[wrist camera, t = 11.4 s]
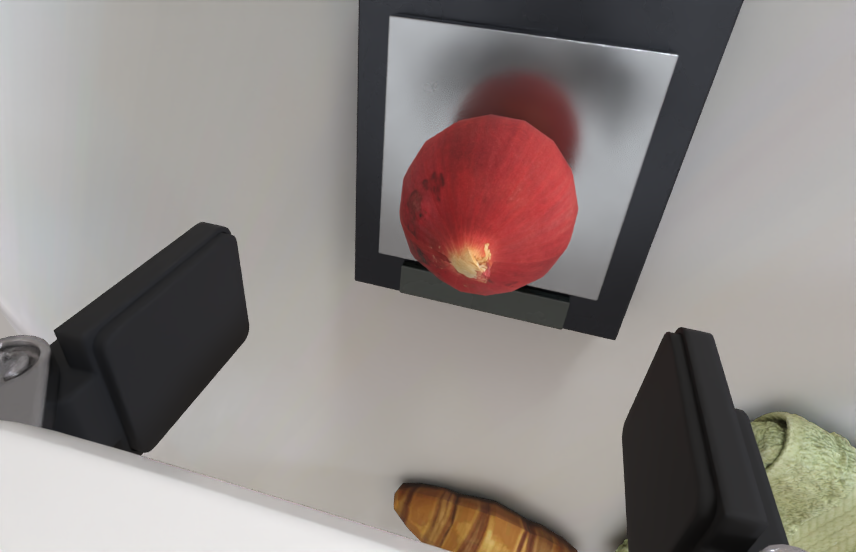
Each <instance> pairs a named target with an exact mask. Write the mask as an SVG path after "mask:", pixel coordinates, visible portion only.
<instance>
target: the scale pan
mask: <svg viewBox="0 0 856 552" xmlns="http://www.w3.org/2000/svg"><path fill="white" fill-rule="evenodd" d="M678 58H679V55H678V54H677V53H676V52H675V51H669V50H662V49H655V48H648V47H640V46H633V45H626V44H618V43H611V42H604V41H596V40H589V39H582V38H575V37H567V36H560V35H553V34H545V33H538V32H531V31H523V30H516V29H509V28H502V27H494V26H487V25H480V24H472V23H465V22H458V21H450V20H443V19H436V18H429V17H421V16H414V15H407V14H399V13H395V14H392V15H390V16H389V29H388V52H387V75H386V98H385V120H384V143H383V166H382V189H381V212H380V235H379V253H382V254H386V255H391V256H396V257H400V258H405V259H409V260H414V261H417V260H416V259H415V258H414V257H413V255H412V254H411V252H410V249H409V246H408V243H407V240H406V237H405V234H404V231H403V228H402V225H401V222H400V214H399V210H400V202H401V194H402V185H403V178H404V176H405V174H406V172H407V170H408V168H409V166H410V165H411V163H412V162H413V160H414V159H415V157H416V155H417V154H418V152H419V151H420V149H421V148H422V146H423V144H424V143H425V142H426V141H427V140H429V139H430V138H432V137H433V136H435V135H436V134H438V133H440V132H441V131H443V130H444V129H446V128H447V127H449V126H451V125H452V124H454V123H456V122H458V121H460V120H463V119H469V118H474V117H479V116H484V115H490V114H493V115H498V116H504V117H509V118H514V119H519V120H524V121H526V122H528V123H529V124H531V125H532V126H533V127H535V128H536V129H538V130H539V131H540V132H542V133H543V134H545V135H546V136H547V137H549V138H550V139H552V140H553V141H554V142H555V144H556V146H557V147H558V149H559V150H560V152H561V153H562V155H563V157H564V158H565V160H566V161H567V163H568V165H569V166H570V168H571V170H572V173H573V177H574V184H575V190H576V196H577V203H578V213H577V217H576V221H575V225H574V229H573V233H572V237H571V240H570V242H569V244H568V247H567V249H566V250H565V251H564V252H563V254H562V255H561V256H560V258H559V259H558V260H557V261H556V263H555V264H554V265H553V266H552V268H551V269H550V270H549V272H548V273H546V274H545V275H544V276H543V277H542V278H540V279H538V280H536V281H533V282H531V283H529V284H527V285H528V286H532V287H537V288H541V289H546V290H550V291H555V292H560V293H564V294H569V295H573V296H578V297H582V298H587V299H592V300H598V297H599V294H600V291H601V288H602V285H603V282H604V279H605V276H606V273H607V270H608V267H609V264H610V261H611V258H612V255H613V252H614V249H615V246H616V243H617V240H618V237H619V234H620V231H621V228H622V225H623V222H624V219H625V216H626V213H627V210H628V207H629V204H630V201H631V198H632V195H633V192H634V189H635V186H636V183H637V180H638V177H639V174H640V171H641V168H642V165H643V162H644V159H645V156H646V153H647V150H648V147H649V144H650V141H651V138H652V135H653V132H654V129H655V126H656V123H657V120H658V117H659V114H660V111H661V108H662V105H663V102H664V99H665V96H666V93H667V90H668V87H669V84H670V82H671V79H672V76H673V73H674V70H675V67H676V64H677V61H678ZM418 262H419V261H418Z"/></svg>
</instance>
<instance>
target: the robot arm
mask: <svg viewBox="0 0 856 552" xmlns="http://www.w3.org/2000/svg"><path fill="white" fill-rule="evenodd" d="M54 332H55V335H56V337H57V340H56V341H55V342H53V343H52V344H51V345H49V344H48V343H47V342H46V341H45V340H44V339H41V338H39V337H36V336H28V335H19V336H10V337H6V338H2V339H0V552H451V551H448V550H445V549H442V548H438V547H435V546H432V545H429V544H426V543H423V542H419V541H416V540H413V539H410V538H407V537H404V536H400V535H397V534H394V533H391V532H388V531H385V530H381V529H378V528H375V527H372V526H368V525H365V524H362V523H359V522H356V521H352V520H349V519H346V518H343V517H339V516H336V515H333V514H330V513H327V512H323V511H320V510H317V509H314V508H310V507H307V506H304V505H301V504H297V503H294V502H291V501H288V500H284V499H281V498H278V497H275V496H271V495H268V494H265V493H262V492H259V491H255V490H252V489H249V488H246V487H242V486H239V485H236V484H233V483H229V482H226V481H223V480H219V479H216V478H213V477H209V476H206V475H203V474H200V473H196V472H193V471H190V470H186V469H183V468H180V467H176V466H173V465H170V464H167V463H163V462H160V461H157V460H153V459H150V458H147V457H143V456H141V455H142V454H143V452H144V453H146V452H149V451H151V450H152V449H153V448H154V447H155V446H156V445H157V444H158V443H159V441H160V440H161V439H162V438H163V437H164V435H165V434H166V433H167V432H168V431H169V430H170V428H171V427H172V426H173V425H174V424H175V423H176V421H177V420H178V419H179V418H180V417H181V415H182V414H183V413H184V412H185V411H186V410H187V408H188V407H189V406H190V405H191V404H192V402H193V401H194V400H195V399H196V398H197V397H198V395H199V394H200V393H201V392H202V391H203V390H204V388H205V387H206V386H207V385H208V384H209V382H210V381H211V380H212V379H213V378H214V377H215V375H216V374H217V373H218V372H219V371H220V369H221V368H222V367H223V366H224V365H225V364H226V362H227V361H228V360H229V359H230V358H231V357H232V355H233V354H234V353H235V352H236V351H237V349H238V348H239V347H240V346H241V345H242V344H243V342H244V341H245V340H246V338H247V335H248V332H249V321H248V314H247V308H246V301H245V294H244V287H243V280H242V274H241V267H240V260H239V253H238V246H237V241H236V238H235V236H233V235H231V232H230V231H229V229H228V228H226V227H223V226H219V225H214V224H210V223H205V222H200V223H198V224H197V225H195V226H194V227H192V228H191V229H190V230H188V231H187V232H186V233H184V234H183V235H182V236H180V237H179V238H178V239H176V240H175V241H174V242H172V243H171V244H170V245H168V246H167V247H166V248H164V249H163V250H161V251H160V252H159V253H157V254H156V255H155V256H153V257H152V258H151V259H149V260H148V261H147V262H145V263H144V264H143V265H141V266H140V267H139V268H137V269H136V270H135V271H133V272H132V273H130V274H129V275H128V276H126V277H125V278H124V279H122V280H121V281H120V282H118V283H117V284H116V285H114V286H113V287H112V288H110V289H109V290H108V291H106V292H105V293H104V294H102V295H101V296H99V297H98V298H97V299H95V300H94V301H93V302H91V303H90V304H89V305H87V306H86V307H85V308H83V309H82V310H81V311H79V312H78V313H77V314H75V315H74V316H73V317H71V318H70V319H68V320H67V321H66V322H64V323H63V324H62V325H60V326H59V327H58V328H56V329H55V330H54ZM622 446H623V464H624V482H625V499H626V517H627V535H628V552H808V551H806V550H803V549H801V548H799V547H795V546H790V545H789V542H788V539H787V536H786V533H785V530H784V527H783V524H782V520H781V517H780V514H779V511H778V508H777V505H776V502H775V498H774V495H773V492H772V489H771V486H770V483H769V480H768V476H767V473H766V470H765V467H764V464H763V461H762V458H761V454H760V451H759V448H758V445H757V442H756V439H755V436H754V432H753V429H752V426H751V423H750V420H749V418H748V416H747V414H746V413H745V412H744V411H742V410H739V409H735V408H734V405H733V402H732V398H731V395H730V391H729V388H728V385H727V381H726V378H725V374H724V371H723V368H722V364H721V361H720V357H719V354H718V351H717V347H716V344H715V340H714V338H713V336H712V334H710V333H706V332H701V331H697V330H692V329H687V328H683V327H680V328H678V329H677V330H676V332H675V333H671V332H666V334H665V335H664V337H663V339H662V341H661V343H660V345H659V348H658V350H657V352H656V354H655V356H654V359H653V361H652V363H651V365H650V367H649V370H648V372H647V374H646V376H645V378H644V381H643V383H642V385H641V387H640V389H639V392H638V394H637V396H636V398H635V400H634V403H633V405H632V407H631V409H630V411H629V414H628V416H627V418H626V420H625V423H624V427H623V433H622Z"/></svg>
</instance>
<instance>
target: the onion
mask: <svg viewBox="0 0 856 552" xmlns="http://www.w3.org/2000/svg"><path fill="white" fill-rule="evenodd" d="M577 213H578V203H577V196H576V190H575V184H574V177H573V173H572V170H571V168H570V166H569V165H568V163H567V161H566V160H565V158H564V157H563V155H562V153H561V152H560V150H559V149H558V147H557V146H556V144H555V142H554V141H553V140H552V139H550V138H549V137H547V136H546V135H545V134H543V133H542V132H540V131H539V130H538V129H536V128H535V127H533V126H532V125H531V124H529V123H528V122H526V121H524V120H519V119H514V118H509V117H504V116H498V115H493V114H490V115H484V116H479V117H474V118H469V119H463V120H460V121H458V122H456V123H454V124H452V125H451V126H449V127H447V128H446V129H444V130H443V131H441V132H440V133H438V134H436V135H435V136H433V137H432V138H430V139H429V140H427V141H426V142H425V143H424V144H423V146H422V148H421V149H420V151H419V152H418V154H417V155H416V157H415V159H414V160H413V162H412V163H411V165H410V166H409V168H408V170H407V172H406V174H405V176H404V178H403V185H402V194H401V202H400V210H399V214H400V222H401V225H402V228H403V231H404V234H405V237H406V240H407V243H408V246H409V249H410V252H411V254H412V255H413V257H414V258H415V259H416V260H417V261H419V262H420V263H421V264H422V265H423V266H424V267H426V268H427V269H428V270H429V271H430V272H431V273H433V274H434V275H435V276H436V277H437V278H438V279H440V280H441V281H443V282H445V283H447V284H448V285H450V286H452V287H453V288H455V289H457V290H458V291H460V292H466V293H472V294H478V295H485V296H487V295H494V294H500V293H506V292H512V291H514V290H516V289H518V288H520V287H523V286H525V285H527V284H529V283H531V282H533V281H536V280H538V279H540V278H542V277H543V276H544V275H545V274H546V273H548V272H549V270H550V269H551V268H552V266H553V265H554V264H555V263H556V261H557V260H558V259H559V258H560V256H561V255H562V254H563V252H564V251H565V250H566V249H567V247H568V244H569V242H570V240H571V237H572V233H573V229H574V225H575V221H576V217H577Z"/></svg>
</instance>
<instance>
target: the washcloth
mask: <svg viewBox="0 0 856 552" xmlns="http://www.w3.org/2000/svg"><path fill="white" fill-rule="evenodd" d="M750 423H751V426H752V429H753V432H754V436H755V439H756V442H757V445H758V448H759V451H760V454H761V458H762V461H763V464H764V467H765V470H766V473H767V476H768V480H769V483H770V486H771V489H772V492H773V495H774V498H775V502H776V505H777V508H778V511H779V514H780V517H781V520H782V524H783V527H784V530H785V533H786V536H787V539H788V542H789V545H790V546H795V547H799V548H801V549H803V550H806V551H808V552H856V448H854V447H853V446H851V445H850V443H849V441H848V440H847V439H846V438H844V437H842V436H841V435H839V434H836V433H835V432H832V433H828V432H827V431H825V430H823V429H822V428H820V427H819V426H817V425H816V424H814V423H812V422H809V421H808V420H806V419H804V418H803V417H801V416H798V415H797V414H790V413H788V412H772V413H768V414H765V415H762V416H761V417H759V418H757V419H755V420H754V421H753V422H750ZM615 552H628V539H626V540H624V543H623V544H621V545H619V547H618V548H617V550H616V551H615Z"/></svg>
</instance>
